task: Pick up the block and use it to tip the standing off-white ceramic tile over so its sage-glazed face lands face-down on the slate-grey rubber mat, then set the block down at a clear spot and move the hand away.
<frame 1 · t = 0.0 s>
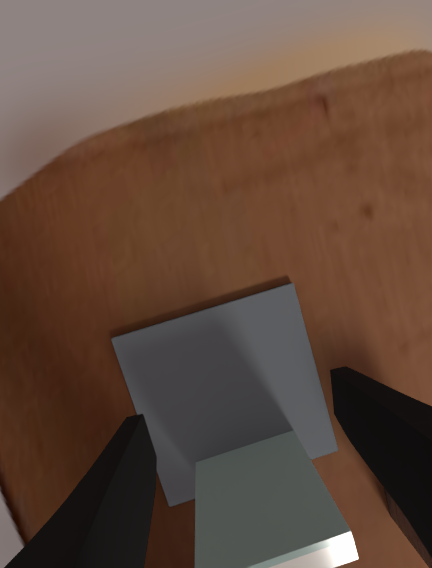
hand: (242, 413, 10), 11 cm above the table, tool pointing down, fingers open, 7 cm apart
tile: (247, 455, 21), resting on mat
block: (407, 488, 23), on the table
mat: (229, 394, 21), on the table
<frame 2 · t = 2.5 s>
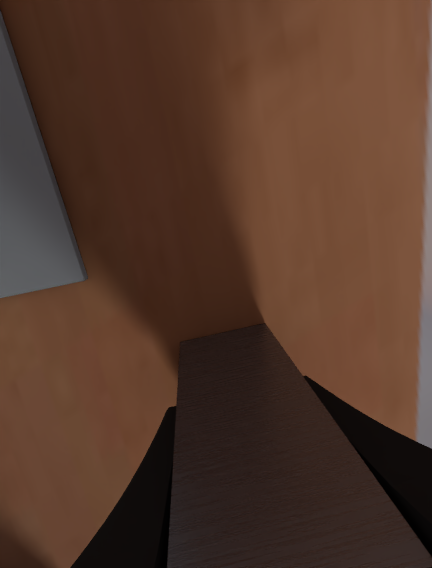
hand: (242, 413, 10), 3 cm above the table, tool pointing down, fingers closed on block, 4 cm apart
block: (230, 370, 13), on the table, touching gripper
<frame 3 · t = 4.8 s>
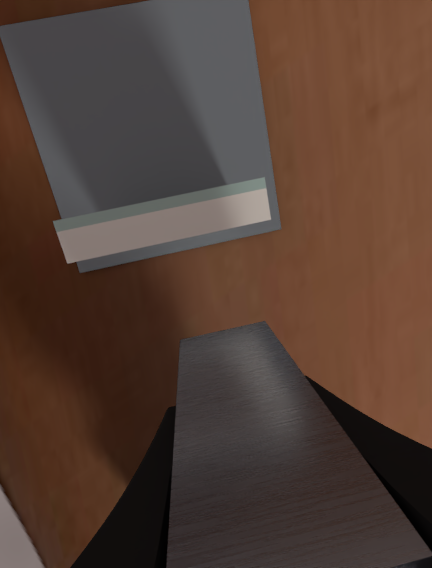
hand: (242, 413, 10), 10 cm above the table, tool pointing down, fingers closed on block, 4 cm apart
tile: (175, 220, 18), resting on mat
block: (230, 368, 13), point 7 cm above the table, touching gripper
mat: (157, 141, 17), on the table
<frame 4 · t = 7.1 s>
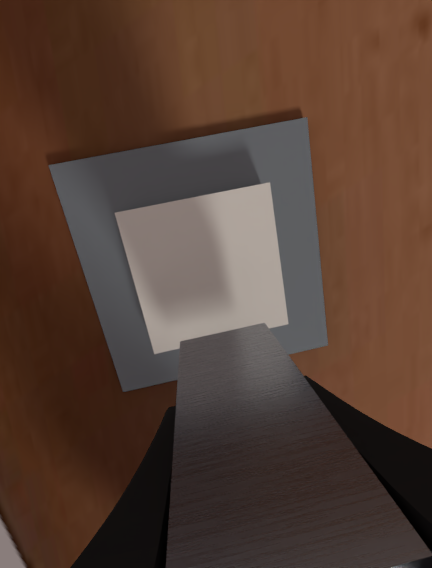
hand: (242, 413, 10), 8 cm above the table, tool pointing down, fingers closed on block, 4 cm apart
tile: (220, 333, 17), point 1 cm above the table, tilted 90°, touching mat
block: (230, 369, 13), point 5 cm above the table, touching gripper
mat: (206, 266, 17), on the table
when the fingers open (4 cm above the table, at t = 10.9 s): block stays where it is, on the table.
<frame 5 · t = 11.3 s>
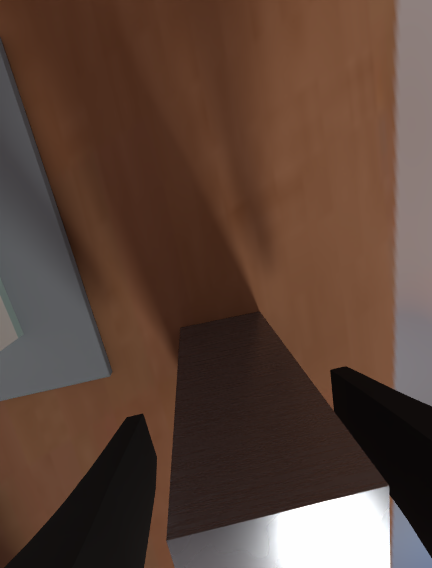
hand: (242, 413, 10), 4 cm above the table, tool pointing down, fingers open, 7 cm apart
block: (226, 355, 14), on the table
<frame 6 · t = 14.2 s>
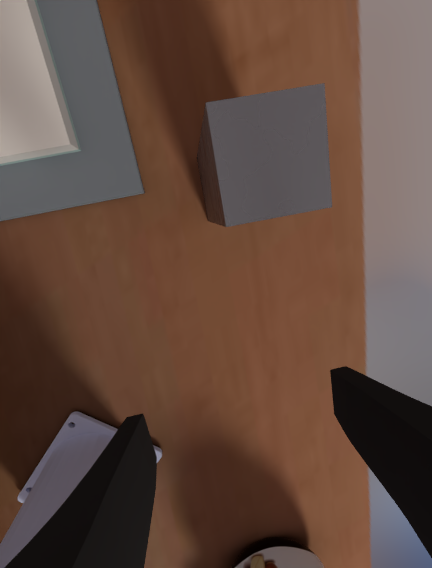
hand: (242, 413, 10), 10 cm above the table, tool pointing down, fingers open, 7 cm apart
tile: (5, 160, 15), point 1 cm above the table, tilted 90°, touching mat
block: (232, 185, 18), on the table
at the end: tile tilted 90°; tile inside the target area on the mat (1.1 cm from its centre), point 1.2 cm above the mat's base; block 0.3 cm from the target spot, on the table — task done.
